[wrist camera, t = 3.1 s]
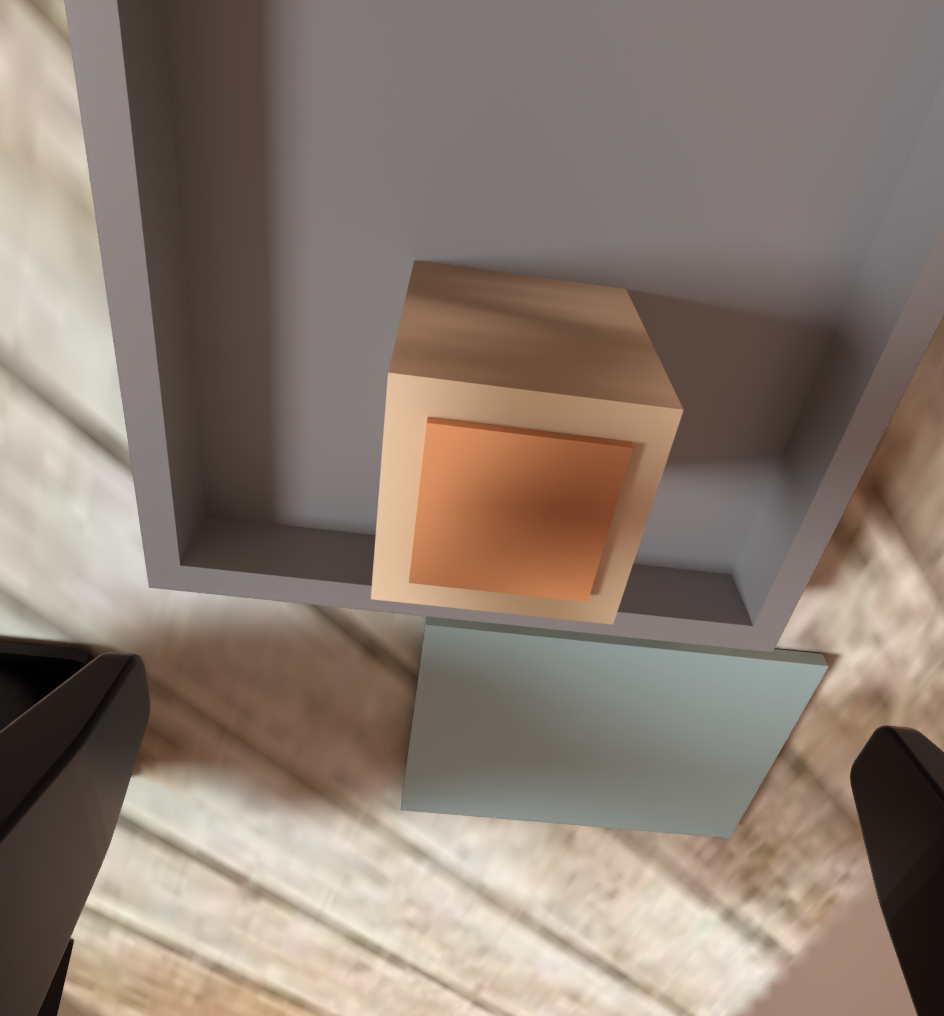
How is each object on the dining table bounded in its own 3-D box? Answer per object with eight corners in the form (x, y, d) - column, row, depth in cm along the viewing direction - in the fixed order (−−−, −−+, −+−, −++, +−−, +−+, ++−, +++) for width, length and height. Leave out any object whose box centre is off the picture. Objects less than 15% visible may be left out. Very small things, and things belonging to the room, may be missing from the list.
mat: (401, 797, 27) (400, 809, 27) (426, 612, 22) (425, 625, 22) (726, 825, 28) (730, 838, 28) (822, 654, 23) (828, 666, 22)
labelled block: (397, 446, 18) (369, 606, 14) (414, 259, 16) (386, 378, 11) (580, 468, 19) (614, 632, 14) (625, 289, 16) (686, 415, 11)
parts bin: (182, 526, 20) (148, 587, 18) (11, -1095, 8) (-146, -1459, 6) (744, 587, 21) (772, 652, 19) (1345, -759, 9) (1595, -972, 7)
